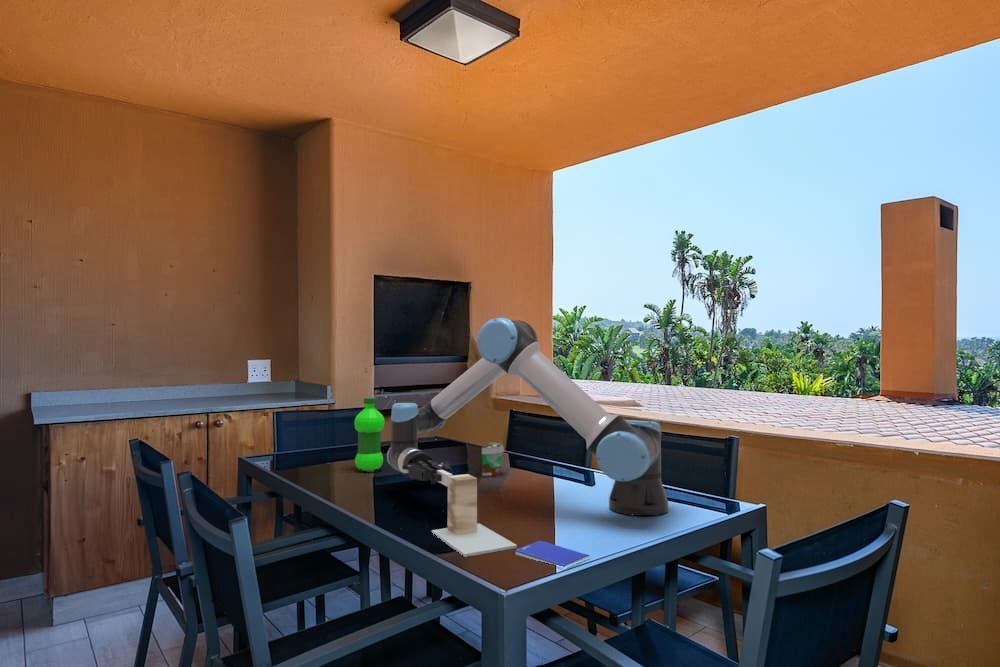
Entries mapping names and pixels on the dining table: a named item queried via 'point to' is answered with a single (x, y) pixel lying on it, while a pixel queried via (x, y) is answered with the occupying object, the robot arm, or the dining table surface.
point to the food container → (492, 459)
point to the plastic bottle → (369, 436)
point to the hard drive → (550, 554)
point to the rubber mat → (475, 541)
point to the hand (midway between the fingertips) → (449, 480)
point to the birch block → (462, 504)
